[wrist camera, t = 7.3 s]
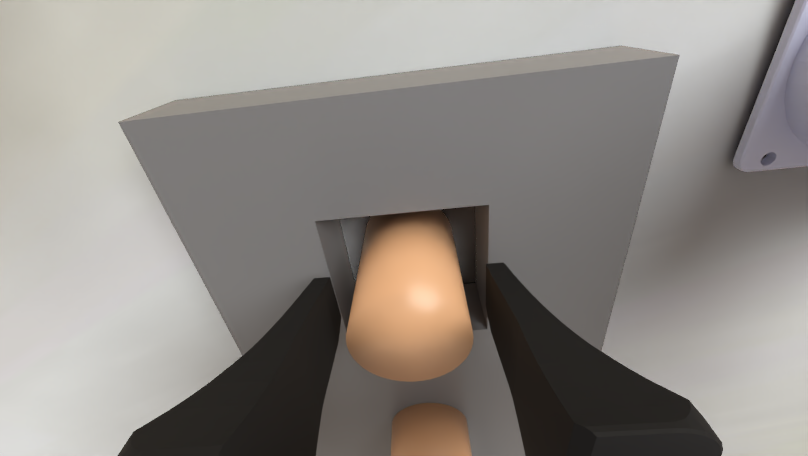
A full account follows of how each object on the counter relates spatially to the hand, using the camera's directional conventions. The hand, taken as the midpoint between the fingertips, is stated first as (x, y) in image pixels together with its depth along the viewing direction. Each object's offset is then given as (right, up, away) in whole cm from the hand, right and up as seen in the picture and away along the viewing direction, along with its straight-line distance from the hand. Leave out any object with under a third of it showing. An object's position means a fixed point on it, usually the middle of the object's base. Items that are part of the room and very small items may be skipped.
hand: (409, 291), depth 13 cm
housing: (+1, -2, +6) cm, 6 cm away
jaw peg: (0, +2, +3) cm, 4 cm away
